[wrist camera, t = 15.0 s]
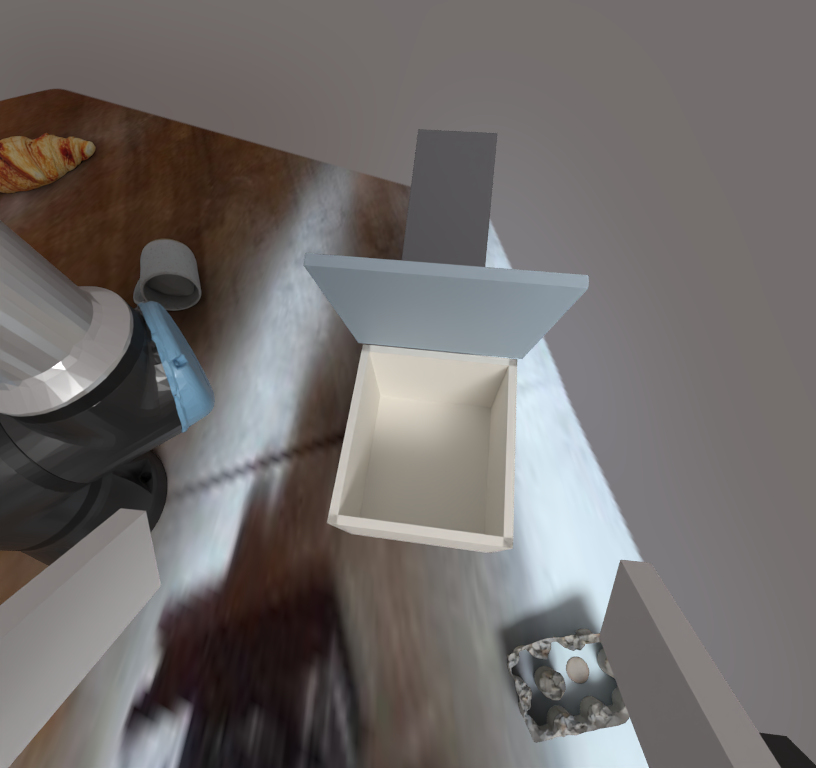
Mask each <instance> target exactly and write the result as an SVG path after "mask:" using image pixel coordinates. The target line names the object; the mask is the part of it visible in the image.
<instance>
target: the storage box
mask: <svg viewBox="0 0 816 768" xmlns="http://www.w3.org/2000/svg"><path fill="white" fill-rule="evenodd" d="M516 389H517V359H509V358H499V357H489V356H478V355H468V354H458V353H448V352H437V351H427V350H417V349H406V348H396V347H386V346H376V345H365V344H363V347H362V352H361V357H360V362H359V367H358V372H357V377H356V382H355V387H354V392H353V396H352V401H351V406H350V411H349V416H348V421H347V426H346V431H345V436H344V441H343V446H342V451H341V456H340V461H339V466H338V471H337V476H336V481H335V486H334V491H333V496H332V501H331V506H330V510H329V515H328V520H327V523H328V524H330V525H333V526H335V527H337V528H339V529H342V530H344V531H346V532H348V533H351V534H356V535H363V536H371V537H378V538H385V539H392V540H400V541H407V542H414V543H421V544H428V545H436V546H443V547H450V548H457V549H465V550H472V551H479V552H486V553H492V552H497V551H502V550H507V549H512V548H513V521H514V477H515V433H516Z"/></svg>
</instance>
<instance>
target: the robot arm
mask: <svg viewBox="0 0 816 768" xmlns="http://www.w3.org/2000/svg"><path fill="white" fill-rule="evenodd" d="M214 402H215V397H214V393H213V390H212V388H211V385H210V383H209V381H208V379H207V377H206V375H205V373H204V371H203V369H202V367H201V365H200V363H199V361H198V360H197V358H196V356H195V354H194V352H193V351H192V349H191V347H190V346H189V344H188V342H187V341H186V339H185V337H184V336H183V334H182V333H181V331H180V329H179V328H178V326H177V325H176V323H175V322H174V320H173V319H172V318H171V316H170V315H169V313H168V312H167V311H166V310H165V308H164V307H163V306H162V305H160V304H159V303H158V302H154V301H149V302H146V303H142V302H141V303H139V304H137V307H136V308H134V309H133V308H132V307H131V306H130V305H129V304H128V303H127V302H125V301H124V300H123V299H122V298H121V297H120V296H119V295H118V294H116V293H114V292H112V291H111V290H108V289H105V288H100V287H94V286H77V285H75V284H74V283H73V282H72V281H71V280H70V279H68V278H67V277H66V276H65V275H64V274H63V273H61V272H60V271H59V270H58V269H57V268H56V267H54V266H53V265H52V264H51V263H50V262H48V261H47V260H46V259H45V258H44V257H43V256H41V255H40V254H39V253H38V252H37V251H36V250H34V249H33V248H32V247H31V246H30V245H29V244H27V243H26V242H25V241H24V240H23V239H22V238H20V237H19V236H18V235H17V234H16V233H14V232H13V231H12V230H11V229H10V228H9V227H7V226H6V225H5V224H4V223H3V222H2V221H0V550H2V551H21V552H23V553H25V554H27V555H29V556H31V557H33V558H35V559H37V560H39V561H41V562H43V563H44V564H46V565H49V567H47V568H46V569H45V570H44V571H42V572H41V573H40V574H39V575H37V576H36V577H35V578H34V579H32V580H31V581H30V582H29V583H27V584H26V585H25V586H24V587H23V588H21V589H20V590H19V591H18V592H16V593H15V594H14V595H13V596H11V597H10V598H9V599H8V600H6V601H5V602H4V603H3V604H1V605H0V768H8V767H9V766H10V765H11V764H12V763H13V761H14V760H15V759H16V758H17V757H18V755H19V754H20V753H21V752H22V751H23V749H24V748H25V747H26V746H27V745H28V744H29V742H30V741H31V740H32V739H33V738H34V736H35V735H36V734H37V733H38V732H39V730H40V729H41V728H42V727H43V726H44V725H45V723H46V722H47V721H48V720H49V719H50V717H51V716H52V715H53V714H54V713H55V711H56V710H57V709H58V708H59V707H60V706H61V704H62V703H63V702H64V701H65V700H66V698H67V697H68V696H69V695H70V694H71V692H72V691H73V690H74V689H75V688H76V686H77V685H78V684H79V683H80V682H81V681H82V679H83V678H84V677H85V676H86V675H87V673H88V672H89V671H90V670H91V669H92V667H93V666H94V665H95V664H96V663H97V662H98V660H99V659H100V658H101V657H102V656H103V654H104V653H105V652H106V651H107V650H108V648H109V647H110V646H111V645H112V644H113V642H114V641H115V640H116V639H117V638H118V637H119V635H120V634H121V633H122V632H123V631H124V629H125V628H126V627H127V626H128V625H129V623H130V622H131V621H132V620H133V619H134V618H135V616H136V615H137V614H138V613H139V612H140V610H141V609H142V608H143V607H144V606H145V604H146V603H147V602H148V601H149V600H150V599H151V597H152V596H153V595H154V594H155V593H156V591H157V590H158V589H159V588H160V587H161V582H160V578H159V573H158V568H157V563H156V558H155V553H154V548H153V543H152V538H151V531H152V530H153V528H154V527H155V525H156V523H157V522H158V520H159V518H160V515H161V513H162V510H163V508H164V504H165V500H166V494H167V479H166V474H165V471H164V468H163V466H162V464H161V462H160V460H159V459H158V457H157V456H156V455H155V454H154V453H153V452H151V451H150V450H151V449H153V448H155V447H157V446H159V445H160V444H162V443H164V442H166V441H167V440H169V439H171V438H173V437H175V436H176V435H178V434H180V433H183V432H185V431H187V429H188V427H190V426H191V425H193V424H194V423H196V422H197V421H199V420H200V419H202V418H203V417H205V416H206V415H208V414H209V413H210V412H211V411H212V409H213V407H214ZM599 638H600V641H601V643H602V646H603V649H604V651H605V654H606V656H607V659H608V662H609V664H610V667H611V669H612V672H613V675H614V677H615V680H616V682H617V685H618V688H619V690H620V693H621V695H622V698H623V701H624V703H625V706H626V708H627V711H628V714H629V716H630V719H631V722H632V724H633V727H634V729H635V732H636V735H637V737H638V740H639V742H640V745H641V748H642V750H643V753H644V755H645V758H646V761H647V763H648V766H649V768H816V765H815V764H814V763H813V762H812V761H811V760H810V759H809V758H808V757H807V756H806V755H805V754H804V753H803V752H802V751H801V750H800V749H799V748H798V747H797V746H796V745H795V744H794V743H792V741H791V740H790V739H789V738H787V736H780V735H773V734H765V733H759V732H758V731H757V729H756V728H755V726H754V724H753V723H752V721H751V720H750V718H749V717H748V715H747V713H746V712H745V710H744V709H743V707H742V706H741V704H740V702H739V701H738V699H737V698H736V696H735V695H734V693H733V691H732V690H731V688H730V687H729V685H728V684H727V682H726V680H725V679H724V677H723V676H722V674H721V672H720V671H719V669H718V668H717V666H716V665H715V663H714V662H713V660H712V658H711V657H710V655H709V654H708V652H707V650H706V649H705V647H704V646H703V644H702V643H701V641H700V639H699V638H698V636H697V635H696V633H695V632H694V630H693V628H692V627H691V625H690V624H689V622H688V621H687V619H686V617H685V616H684V614H683V613H682V611H681V610H680V608H679V606H678V605H677V603H676V602H675V600H674V599H673V597H672V595H671V594H670V592H669V591H668V589H667V588H666V586H665V584H664V583H663V581H662V580H661V578H660V577H659V575H658V573H657V572H656V570H655V569H654V567H653V566H652V564H651V563H647V562H637V561H627V560H620V563H619V567H618V571H617V574H616V578H615V581H614V585H613V589H612V592H611V596H610V600H609V603H608V607H607V610H606V614H605V618H604V621H603V625H602V629H601V632H600V636H599Z"/></svg>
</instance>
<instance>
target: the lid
mask: <svg viewBox="0 0 816 768" xmlns="http://www.w3.org/2000/svg"><path fill="white" fill-rule="evenodd" d="M496 142H497V133H478V132H461V131H441V130H420V129H419V130H418V136H417V145H416V152H415V160H414V168H413V176H412V184H411V191H410V199H409V207H408V215H407V223H406V231H405V239H404V246H403V254H402V261H400V260H388V259H375V258H362V257H350V256H337V255H324V254H312V253H305V259H304V267H305V268H306V269H307V271H308V272H309V274H310V275H311V277H312V278H313V279H314V281H315V282H316V284H317V285H318V286H319V288H320V289H321V291H322V292H323V293H324V295H325V296H326V298H327V299H328V301H329V302H330V303H331V305H332V306H333V308H334V309H335V310H336V312H337V313H338V315H339V316H340V318H341V319H342V320H343V322H344V323H345V325H346V326H347V327H348V329H349V330H350V332H351V333H352V334H353V336H354V337H355V339H356V340H357V342H358V343H364V344H375V345H385V346H395V347H406V348H416V349H426V350H436V351H447V352H457V353H467V354H478V355H488V356H498V357H508V358H519V359H523V357H524V356H525V355H526V354H527V353H528V352H529V351H530V350H531V349H532V348H533V347H534V346H535V345H536V344H537V343H538V341H539V340H540V339H541V338H542V337H543V336H544V335H545V334H546V333H547V332H548V331H549V329H551V328H552V327H553V325H554V324H555V323H556V322H557V321H558V320H559V319H560V318H561V317H562V316H563V315H564V314H565V313H566V311H568V309H569V308H570V307H571V306H572V305H573V304H574V303H575V302H576V301H577V300H578V299H579V298H580V297H581V296H582V294H583V293H584V292H585V291H586V290H587V289H588V284H589V275H577V274H565V273H553V272H539V271H527V270H515V269H502V268H489V267H485V262H486V251H487V240H488V229H489V218H490V207H491V196H492V185H493V175H494V164H495V153H496Z"/></svg>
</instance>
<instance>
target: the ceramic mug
mask: <svg viewBox="0 0 816 768" xmlns="http://www.w3.org/2000/svg"><path fill="white" fill-rule="evenodd" d="M140 266H141V271H140V279H139V281H138V283H137V284H136V287H135V290H134V295H133V299H134V302H135V303H136V304H139V303H141V302H142V303H146V302H149V301H154V302H158V303H159V304H160V305H162V306H163V307H164V308H165V310H171V311H176V310H183V309H187V308H190V307H192V306H194V305H195V304H196V303H197V302H198V301H199V300H200V298H201V287H200V280H199V275H198V269H197V263H196V259H195V257H194V254H193V253H192V251H191V250H190V249H189V248H188V247H187V246H186V245H184V244H183V243H181V242H179V241H176V240H173V239H156V240H153V241H151V242H149V243H148V244H147V245H146V246H145V247H144V249H143V251H142V254H141V259H140ZM144 300H145V301H144Z"/></svg>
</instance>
